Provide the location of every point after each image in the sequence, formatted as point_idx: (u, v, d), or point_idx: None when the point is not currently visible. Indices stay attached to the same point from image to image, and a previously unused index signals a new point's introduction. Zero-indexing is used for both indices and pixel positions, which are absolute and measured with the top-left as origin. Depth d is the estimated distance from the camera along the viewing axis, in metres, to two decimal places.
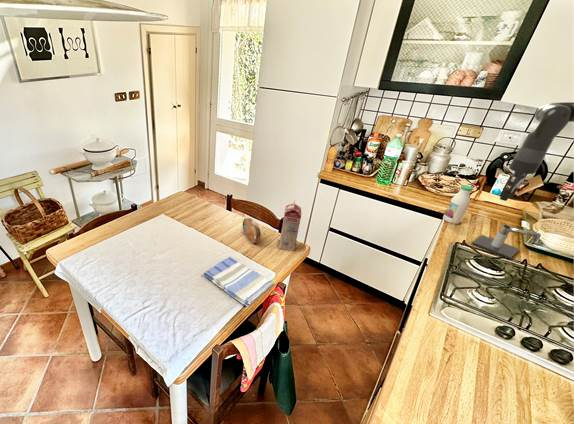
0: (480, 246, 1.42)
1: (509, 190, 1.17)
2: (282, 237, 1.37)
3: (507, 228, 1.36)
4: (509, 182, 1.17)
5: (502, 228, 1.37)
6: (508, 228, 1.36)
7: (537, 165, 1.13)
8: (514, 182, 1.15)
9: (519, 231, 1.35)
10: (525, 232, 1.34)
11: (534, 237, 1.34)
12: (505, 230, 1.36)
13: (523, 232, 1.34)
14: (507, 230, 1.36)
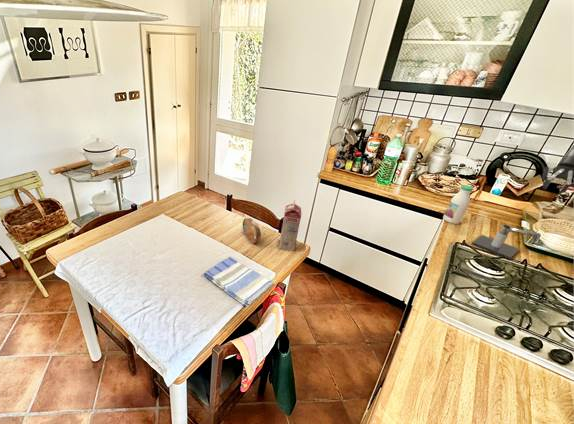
0: (480, 246, 1.42)
1: None
2: (282, 237, 1.37)
3: (507, 228, 1.36)
4: (543, 172, 1.42)
5: (502, 228, 1.37)
6: (508, 228, 1.36)
7: (570, 156, 1.36)
8: (544, 170, 1.41)
9: (519, 231, 1.35)
10: (525, 232, 1.34)
11: (534, 237, 1.34)
12: (505, 230, 1.36)
13: (523, 232, 1.34)
14: (507, 230, 1.36)
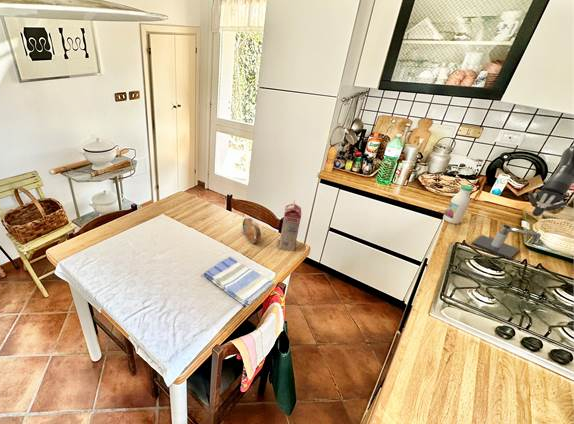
0: (480, 246, 1.42)
1: None
2: (282, 237, 1.37)
3: (507, 228, 1.36)
4: (530, 199, 1.43)
5: (502, 228, 1.37)
6: (508, 228, 1.36)
7: (553, 182, 1.38)
8: (530, 197, 1.42)
9: (519, 231, 1.35)
10: (525, 232, 1.34)
11: (534, 237, 1.34)
12: (505, 230, 1.36)
13: (523, 232, 1.34)
14: (507, 230, 1.36)
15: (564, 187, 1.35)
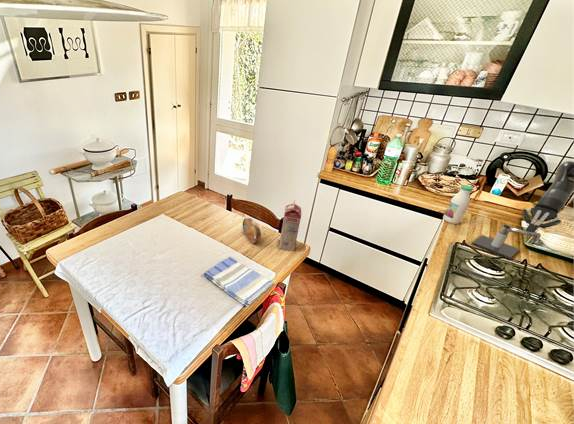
0: (480, 246, 1.42)
1: None
2: (282, 237, 1.37)
3: (507, 228, 1.36)
4: (523, 215, 1.39)
5: (502, 228, 1.37)
6: (508, 228, 1.36)
7: (547, 198, 1.34)
8: (523, 213, 1.39)
9: (519, 231, 1.35)
10: (525, 232, 1.34)
11: (534, 237, 1.34)
12: (505, 230, 1.36)
13: (523, 232, 1.34)
14: (507, 230, 1.36)
15: (558, 204, 1.32)
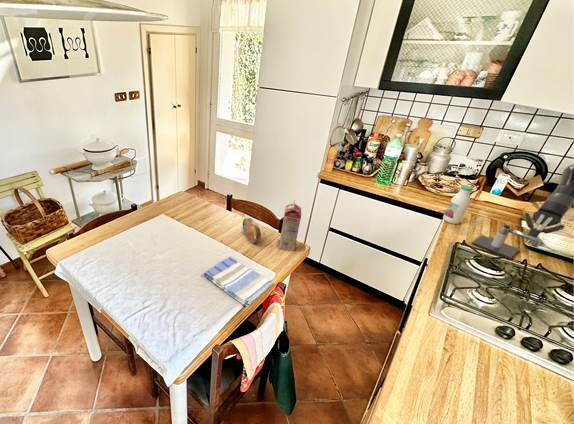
0: (480, 246, 1.42)
1: None
2: (282, 237, 1.37)
3: (505, 227, 1.36)
4: (526, 220, 1.36)
5: (501, 227, 1.38)
6: (506, 228, 1.36)
7: (551, 202, 1.30)
8: (526, 217, 1.35)
9: (518, 233, 1.33)
10: (524, 235, 1.32)
11: (534, 242, 1.30)
12: (503, 229, 1.37)
13: (522, 235, 1.32)
14: (504, 229, 1.36)
15: (562, 209, 1.28)
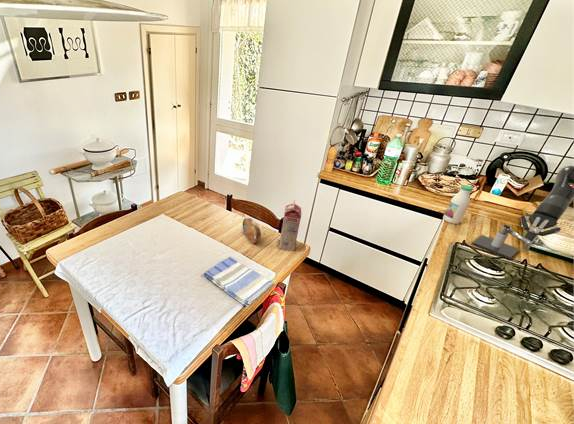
0: (480, 246, 1.42)
1: None
2: (282, 237, 1.37)
3: (503, 227, 1.37)
4: (522, 222, 1.34)
5: None
6: (504, 227, 1.37)
7: (547, 205, 1.28)
8: (522, 220, 1.33)
9: (513, 233, 1.33)
10: (517, 236, 1.31)
11: (524, 244, 1.29)
12: (501, 228, 1.38)
13: (516, 235, 1.32)
14: (502, 228, 1.37)
15: (558, 211, 1.26)
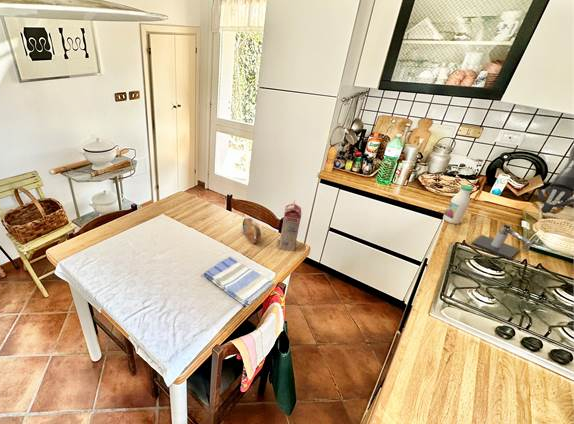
0: (480, 246, 1.42)
1: None
2: (282, 237, 1.37)
3: (503, 227, 1.37)
4: (538, 195, 1.38)
5: None
6: (504, 227, 1.37)
7: (563, 177, 1.33)
8: (538, 193, 1.37)
9: (513, 233, 1.33)
10: (517, 236, 1.31)
11: (524, 244, 1.29)
12: (501, 228, 1.38)
13: (516, 235, 1.32)
14: (502, 228, 1.37)
15: None
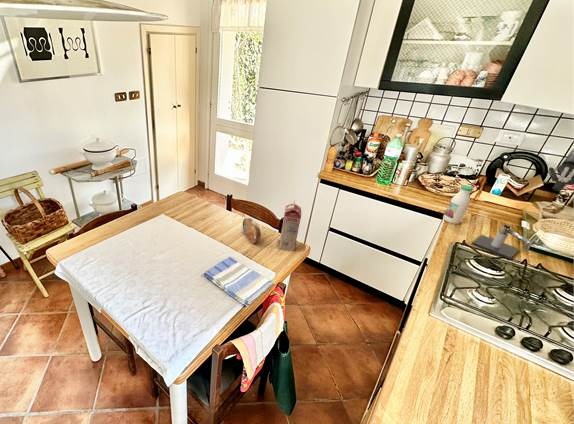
0: (480, 246, 1.42)
1: None
2: (282, 237, 1.37)
3: (503, 227, 1.37)
4: (550, 174, 1.37)
5: None
6: (504, 227, 1.37)
7: None
8: (550, 171, 1.36)
9: (513, 233, 1.33)
10: (517, 236, 1.31)
11: (524, 244, 1.29)
12: (501, 228, 1.38)
13: (516, 235, 1.32)
14: (502, 228, 1.37)
15: None
